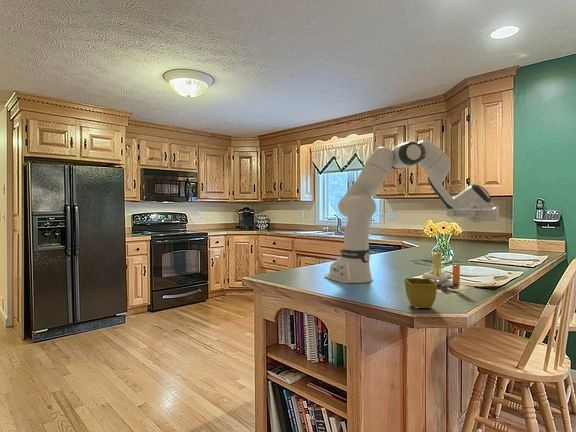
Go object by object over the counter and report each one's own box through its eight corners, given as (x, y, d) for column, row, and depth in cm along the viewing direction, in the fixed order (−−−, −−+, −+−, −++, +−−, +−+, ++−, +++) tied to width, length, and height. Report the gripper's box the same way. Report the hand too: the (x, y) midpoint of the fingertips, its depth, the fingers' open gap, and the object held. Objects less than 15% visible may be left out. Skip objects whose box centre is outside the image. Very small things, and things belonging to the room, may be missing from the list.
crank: (431, 284, 146) (431, 261, 146) (439, 282, 148) (439, 260, 148) (454, 290, 136) (454, 266, 135) (463, 289, 138) (463, 265, 137)
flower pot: (429, 303, 126) (430, 278, 125) (437, 311, 117) (437, 284, 117) (404, 303, 127) (404, 278, 126) (410, 311, 118) (410, 284, 118)
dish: (422, 278, 164) (422, 273, 164) (431, 275, 170) (431, 270, 170) (442, 281, 157) (442, 276, 157) (450, 278, 163) (451, 273, 163)
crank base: (412, 288, 146) (412, 281, 146) (431, 281, 158) (431, 274, 158) (457, 296, 133) (457, 289, 133) (475, 288, 145) (475, 281, 145)
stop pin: (431, 277, 163) (431, 253, 163) (434, 275, 166) (434, 252, 166) (439, 278, 161) (439, 253, 160) (442, 276, 164) (442, 253, 163)
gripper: (454, 205, 168) (440, 206, 159) (502, 205, 153) (491, 206, 143) (453, 218, 168) (440, 220, 159) (502, 220, 153) (491, 222, 144)
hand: (465, 213), depth 151 cm, fingers closed
